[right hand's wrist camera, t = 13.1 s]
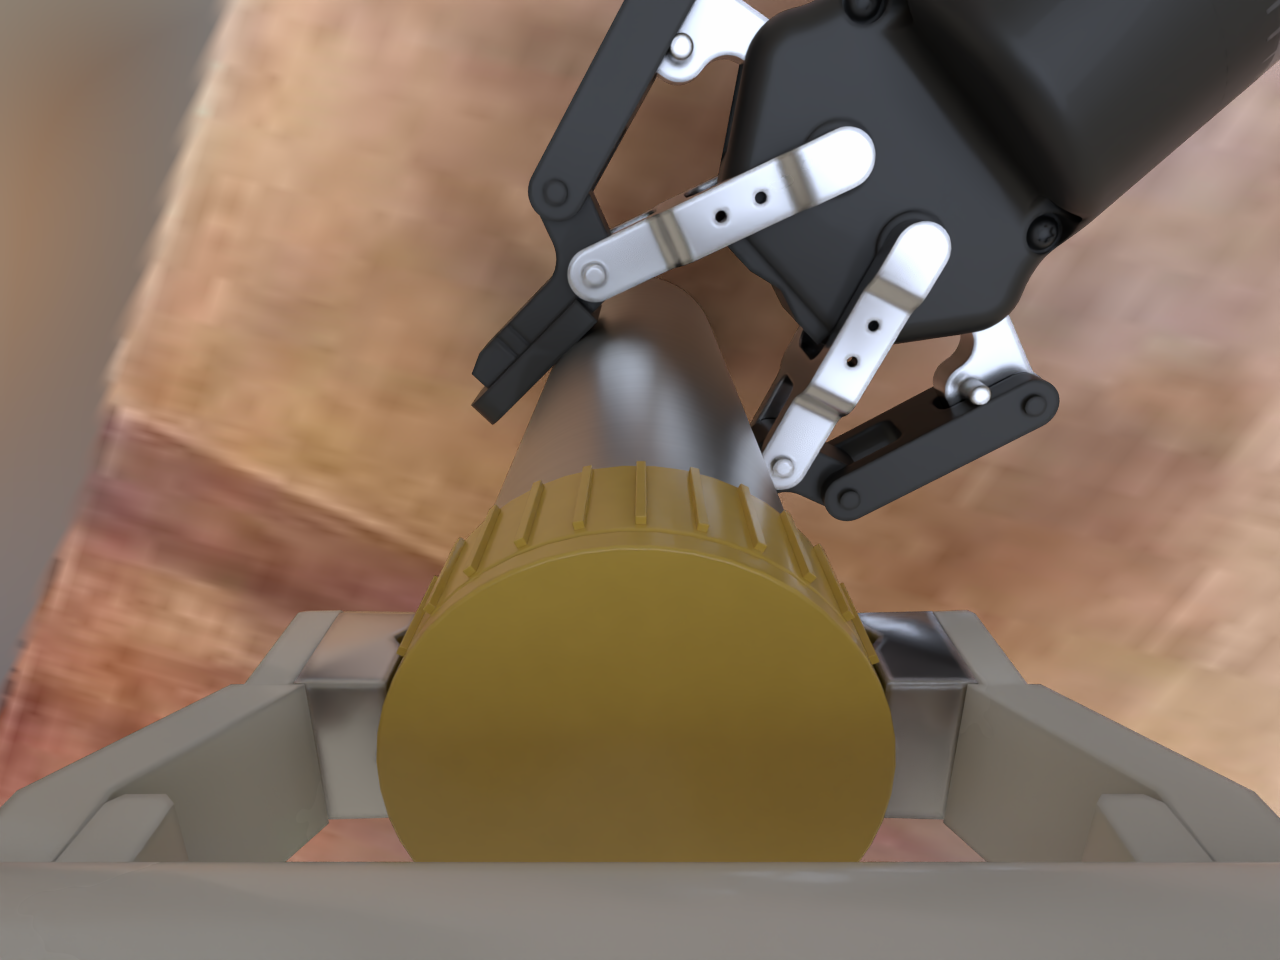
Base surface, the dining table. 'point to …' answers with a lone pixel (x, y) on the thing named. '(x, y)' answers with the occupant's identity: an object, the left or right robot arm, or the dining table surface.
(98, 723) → the dining table surface
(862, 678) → the lid
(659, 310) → the silver canister
